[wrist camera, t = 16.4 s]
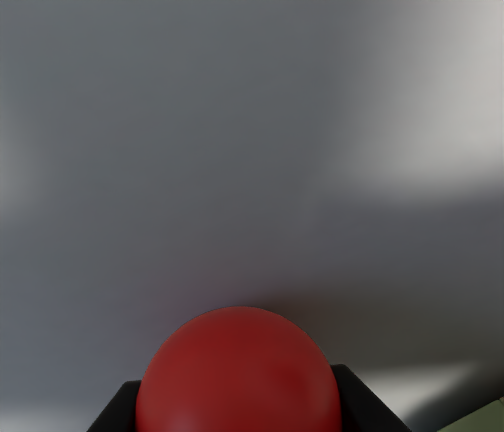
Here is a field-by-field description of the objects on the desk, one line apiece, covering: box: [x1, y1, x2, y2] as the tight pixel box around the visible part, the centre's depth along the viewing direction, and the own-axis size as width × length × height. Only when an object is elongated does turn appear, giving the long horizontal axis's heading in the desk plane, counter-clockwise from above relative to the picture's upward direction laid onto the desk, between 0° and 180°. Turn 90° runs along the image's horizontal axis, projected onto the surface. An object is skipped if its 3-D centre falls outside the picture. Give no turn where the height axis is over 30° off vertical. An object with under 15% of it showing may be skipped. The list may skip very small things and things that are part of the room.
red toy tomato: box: [135, 306, 342, 432], centre depth 8 cm, size 4×4×5 cm
